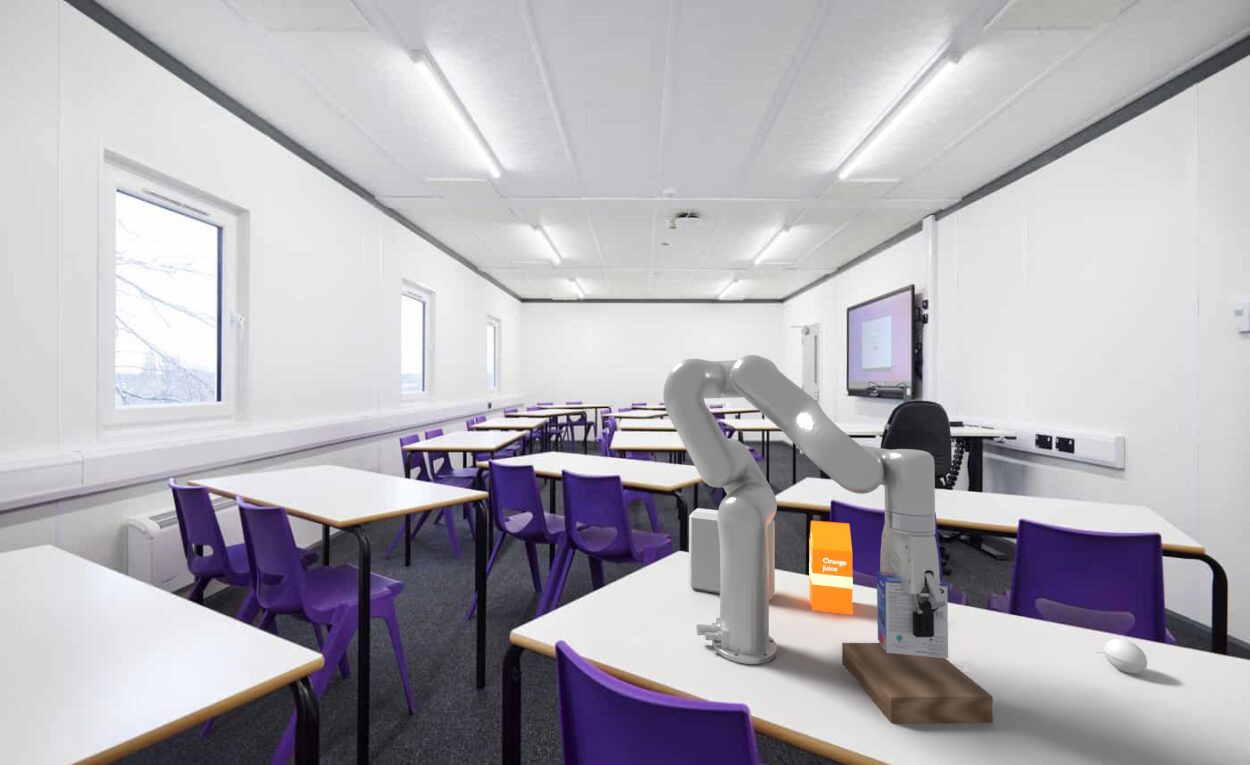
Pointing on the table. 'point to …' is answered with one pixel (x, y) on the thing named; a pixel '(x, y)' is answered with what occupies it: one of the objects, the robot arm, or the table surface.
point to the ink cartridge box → (908, 621)
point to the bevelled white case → (715, 552)
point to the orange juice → (830, 567)
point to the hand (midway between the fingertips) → (910, 625)
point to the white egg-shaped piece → (1125, 656)
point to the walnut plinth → (916, 686)
